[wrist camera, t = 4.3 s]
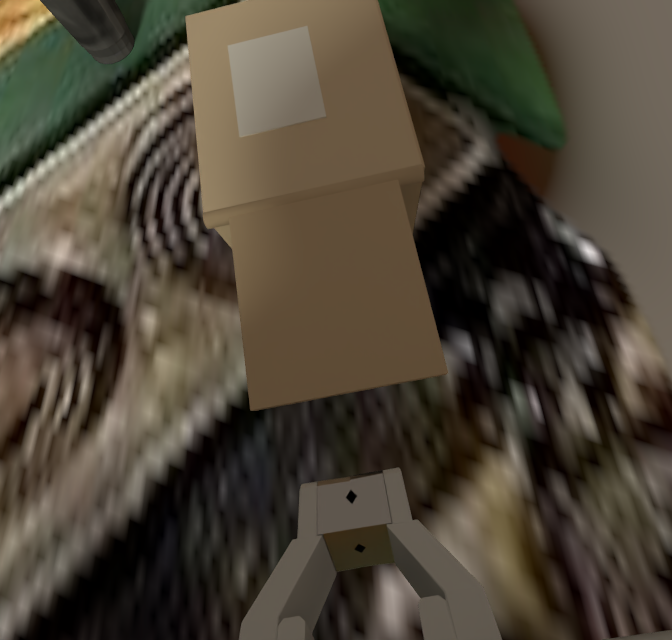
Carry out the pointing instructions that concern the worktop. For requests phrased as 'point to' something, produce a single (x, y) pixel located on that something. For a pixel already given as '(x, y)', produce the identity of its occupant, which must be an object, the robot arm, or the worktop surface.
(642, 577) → the worktop surface
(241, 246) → the lid
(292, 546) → the robot arm
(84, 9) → the beverage cup
